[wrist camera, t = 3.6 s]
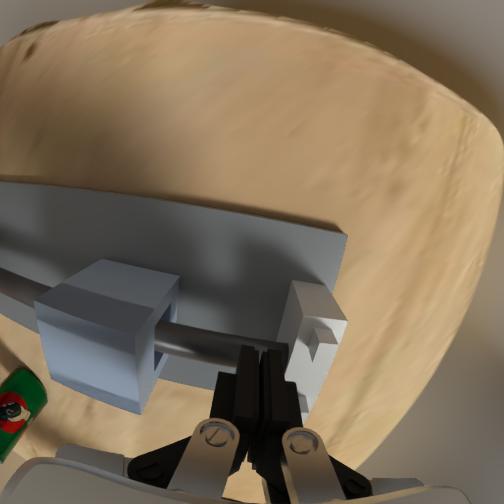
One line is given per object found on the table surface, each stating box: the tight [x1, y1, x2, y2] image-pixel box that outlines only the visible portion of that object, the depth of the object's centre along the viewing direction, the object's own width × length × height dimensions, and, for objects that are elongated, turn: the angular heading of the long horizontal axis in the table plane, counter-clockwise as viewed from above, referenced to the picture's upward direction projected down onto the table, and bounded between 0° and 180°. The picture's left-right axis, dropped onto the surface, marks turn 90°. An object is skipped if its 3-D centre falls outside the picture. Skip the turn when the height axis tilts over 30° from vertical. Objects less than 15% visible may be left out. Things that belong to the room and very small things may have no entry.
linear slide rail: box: [0, 181, 348, 425], centre depth 13 cm, size 28×12×6 cm, turn 80°
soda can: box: [0, 368, 48, 464], centre depth 14 cm, size 5×5×12 cm
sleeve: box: [33, 259, 180, 415], centre depth 12 cm, size 5×4×6 cm
